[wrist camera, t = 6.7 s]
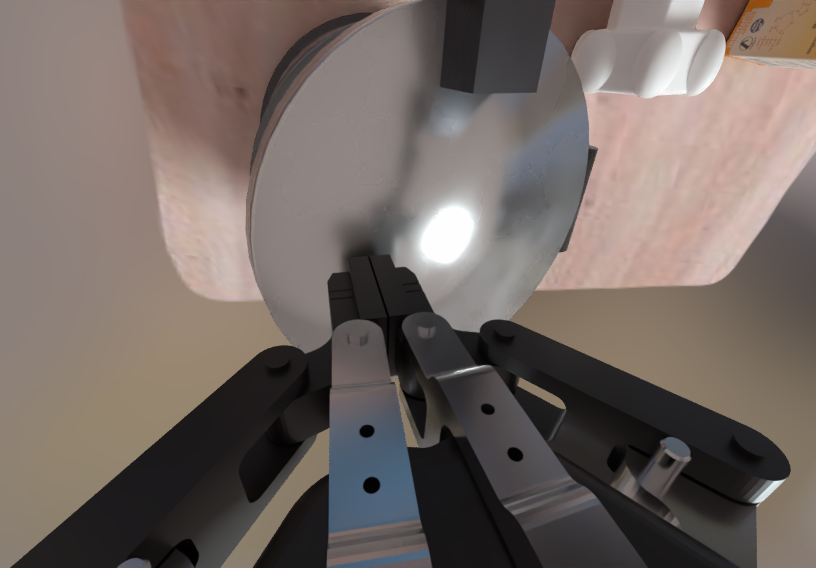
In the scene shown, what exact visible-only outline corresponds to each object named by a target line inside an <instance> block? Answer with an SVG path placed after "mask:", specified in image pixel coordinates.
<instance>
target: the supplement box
mask: <svg viewBox="0 0 816 568" xmlns="http://www.w3.org/2000/svg"><path fill="white" fill-rule="evenodd" d="M724 56H728V57H732V58H736V59H740V60H745V61H749V62H753V63H756V64H759V65H766V66H774V67H785V68H797V69H809V70H816V0H749V3H748V4H747V6H746V8H745V10H744V12H743V14H742V16H741V18H740V19H739V21H738V23H737V25H736V27H735V29H734V30H733V32H732V34H731V35H730V37H729V39H728V41H727V42H726V48H725V55H724Z"/></svg>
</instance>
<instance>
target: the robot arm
mask: <svg viewBox="0 0 816 568" xmlns="http://www.w3.org/2000/svg"><path fill="white" fill-rule="evenodd" d="M346 268H347V272H339V273H332V275H331V276H330V278H329V280H328V281H327V285H328V297H329V308H330V319H331V328H332V336H331V338H330V339H329V341H328V342H327V343H326V344H324V345H323V346H322V347H320V348H318V349H316V350H314V351H311V352H308V353H306V354H305V353H304V352H303V351H302V350H301V349H299V348H297V347H293V346H285V345H284V346H283V345H282V346H275V347H271V348H268V349H266V350H264V351H262V352H260V353H259V354H258V355H256V356H255V357H254V358H253V359H252V360H251V361H249V362H248V363H247V364H246V365H245V366H244V367H242V368H241V369H240V370H239V371H238V372H237V373H236V374H234V375H233V376H232V377H231V378H230V379H229V380H227V381H226V382H225V383H224V384H223V385H222V386H220V388H218V389H217V390H216V391H215V392H214V393H212V394H211V395H210V396H209V397H208V398H207V399H205V400H204V401H203V402H202V403H201V404H200V405H198V406H197V407H196V408H195V409H194V410H193V411H191V412H190V413H189V414H188V415H187V416H186V417H184V418H183V419H182V420H181V421H180V422H179V423H178V424H176V425H175V426H174V427H173V428H172V429H171V430H169V431H168V432H167V433H166V434H165V435H164V436H162V437H161V438H160V439H159V440H158V441H157V442H156V443H154V444H153V445H152V446H151V447H150V448H149V449H147V450H146V451H145V452H144V453H143V454H142V455H140V456H139V457H138V458H137V459H136V460H135V461H133V462H132V463H131V464H130V465H129V466H128V467H127V468H125V469H124V470H123V471H122V472H121V473H120V474H118V475H117V476H116V477H115V478H114V479H113V480H111V481H110V482H109V483H108V484H107V485H106V486H105V487H103V488H102V489H101V490H100V491H99V492H98V493H96V494H95V495H94V496H93V497H92V498H91V499H89V500H88V501H87V502H86V503H85V504H84V505H82V506H81V507H80V508H79V509H78V510H77V511H76V512H74V513H73V514H72V515H71V516H70V517H69V518H68V519H66V520H65V521H64V522H63V523H62V524H61V525H59V526H58V527H57V528H56V529H55V530H53V531H52V532H51V533H50V534H49V535H48V536H47V537H45V538H44V539H43V540H42V541H41V542H40V543H38V544H37V545H36V546H35V547H34V548H33V549H31V550H30V551H29V552H28V553H27V554H26V555H24V556H23V557H22V558H21V559H20V560H19V561H18V562H16V563H15V564H14V565H13V566H12V567H11V568H220V567H221V566H222V564H223V563H224V562H225V561H226V559H227V558H228V556H229V555H230V554H231V553H232V551H233V550H234V549H235V547H236V546H237V545H238V543H239V542H240V541H241V539H242V538H243V537H244V535H245V534H246V533H247V531H248V530H249V529H250V527H251V526H252V525H253V523H254V522H255V521H256V519H257V518H258V517H259V515H260V514H261V513H262V511H263V510H264V508H265V507H266V506H267V505H268V503H269V502H270V501H271V499H272V498H273V497H274V495H275V494H276V492H277V491H278V490H279V489H280V487H281V486H282V485H283V483H284V482H285V480H286V479H287V478H288V476H289V475H290V474H291V473H292V471H293V470H294V469H295V467H296V466H297V465H298V463H299V462H300V461H301V459H302V458H303V457H304V455H305V454H306V453H307V451H308V450H309V449H310V447H311V446H312V445H313V443H314V441H315V439H316V436H317V434H318V433H319V432H322V431H324V430H326V429H328V428H330V433H329V438H330V439H329V474H328V475H326V476H325V477H323V478H321V479H320V480H319V481H317V482H316V483H315V484H314V485H312V486H311V487H310V488H309V489H308V490H307V491H306V492H305V493H304V494H303V495H302V496H301V497H300V498H299V499H298V501H297V502H296V503H295V504H294V506H293V507H292V508H291V510H290V511H289V513H288V514H287V516H286V517H285V519H284V520H283V522H282V524H281V525H280V527H279V528H278V530H277V531H276V533H275V534H274V536H273V537H272V539H271V540H270V542H269V544H268V545H267V547H266V548H265V550H264V551H263V553H262V554H261V556H260V557H259V559H258V560H257V562H256V563H255V565H254V567H253V568H757V541H756V540H757V539H756V538H757V535H756V534H757V532H756V508H757V506H759V505H760V503H762V502H763V501H764V500H765V499H766V498H767V497H768V496H769V495H770V494H771V493H772V492H773V491H774V490H775V489H776V488H777V487H778V486H779V485H780V484H781V483H782V482H783V481H784V480H785V479H786V478H787V477H788V476H789V475H790V471H791V469H790V464H789V461H788V460H787V458H786V456H785V455H784V453H782V451H781V450H780V449H779V448H778V447H777V446H776V445H775V444H774V443H773V442H772V441H771V440H769V439H768V438H767V437H765V436H764V435H762V434H761V433H759V432H758V431H756V430H754V429H752V428H750V427H748V426H746V425H743V424H741V423H739V422H737V421H735V420H732V419H730V418H728V417H726V416H723V415H721V414H719V413H716V412H714V411H712V410H710V409H708V408H705V407H703V406H701V405H699V404H696V403H694V402H692V401H689V400H687V399H685V398H683V397H681V396H678V395H676V394H674V393H671V392H669V391H667V390H665V389H663V388H660V387H658V386H656V385H654V384H651V383H649V382H647V381H645V380H642V379H640V378H638V377H636V376H633V375H631V374H629V373H626V372H624V371H622V370H620V369H617V368H615V367H613V366H611V365H609V364H606V363H604V362H602V361H600V360H597V359H595V358H593V357H590V356H588V355H586V354H584V353H582V352H579V351H577V350H575V349H573V348H570V347H568V346H566V345H564V344H561V343H559V342H557V341H554V340H552V339H550V338H548V337H546V336H543V335H541V334H539V333H536V332H534V331H532V330H530V329H527V328H525V327H523V326H521V325H518V324H516V323H514V322H511V321H508V320H501V319H495V320H490V321H487V322H485V323H484V324H483V325H482V326H481V328H480V331H479V333H478V332H468V331H460V330H456V329H453V328H452V327H451V325H450V324H449V322H448V321H447V320H446V319H445V318H443V317H442V316H440V315H438V314H435V313H434V311H433V309H432V307H431V305H430V303H429V301H428V299H427V297H426V295H425V293H424V291H423V289H422V287H421V285H420V284H419V281H418V279H417V277H416V275H415V273H413V272H412V271H411V270H409V269H408V268H406V267H396V268H395V265H394V263H393V261H392V258H391V256H390V254H386V255H373V256H369V257H368V256H362V257H349V258H346ZM391 376H398V379H399V382H400V385H399V396H400V399H401V402H402V405H403V407H404V410H405V412H406V415H407V418H408V420H409V423H410V425H411V428H412V430H413V433H414V436H415V438H416V441H417V444H418V446H419V448H417V447H416V448H415V447H407V444H406V439H405V433H404V428H403V422H402V417H401V412H400V406H399V400H398V395H397V390H396V386H395V383H394V382H391ZM520 377H521V378H523V379H525V380H526V381H529V382H530V383H532V384H534V385H536V386H538V387H540V388H542V389H544V390H546V391H548V392H550V393H552V394H553V395H555V396H557V397H559V398H560V399H561V400H562V401H563V402H564V404H565V406H566V409H561V408H558V407H556V406H554V405H552V404H550V403H548V402H547V401H545V400H543V399H541V398H539V397H537V396H535V395H533V394H531V393H530V392H528V391H526V390H524V389H522V388H520V387H518V386H517V385H518V381H519V378H520Z"/></svg>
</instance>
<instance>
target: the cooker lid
mask: <svg viewBox="0 0 816 568" xmlns="http://www.w3.org/2000/svg"><path fill="white" fill-rule="evenodd" d="M554 5H555V0H412V1H406V2H402V3H399V4H396V5H394V6H391V7H388V8H386V9H383V10H380V11H377V12H375V13H373V14H371V15H370V16H368V17H366V18H364V19H363V20H361V21H359V22H357V23H356V24H354V25H352V26H351V27H349V28H347V29H346V30H345V31H343V32H342V33H341V34H340V35H338V36H337V37H336V38H335V39H334V40H332V41H331V42H330V43H329V44H327V45H326V46H325V47H324V48H323V49H321V50H320V51H319V52H318V53H317V54H316V56H315V57H314V58H313V59H312V60H311V61H310V62H309V63H308V64H307V66H306V67H305V68H304V69H303V70H302V71H301V72H300V73H299V74H298V76H297V77H296V78H295V80H294V81H293V83H292V84H291V86H290V87H289V89H288V90H287V92H286V93H285V95H284V96H283V98H282V99H281V101H280V102H279V104H278V105H277V107H276V109H275V111H274V113H273V115H272V117H271V119H270V121H269V123H268V126H267V128H266V130H265V132H264V134H263V136H262V138H261V142H260V145H259V148H258V151H257V154H256V157H255V160H254V163H253V166H252V170H251V176H250V182H249V188H248V193H247V199H246V237H247V245H248V253H249V259H250V263H251V266H252V270H253V273H254V276H255V280H256V283H257V285H258V287H259V290H260V292H261V294H262V296H263V299H264V301H265V303H266V305H267V307H268V309H269V311H270V313H271V315H272V318H273V320H274V322H275V323H276V325H277V326H278V327H279V329H280V330H281V332H282V333H283V334H284V336H285V337H286V339H287V340H288V341H289V342H290V343H291V344H292V345H293V346H294V347H297V348H299V349H301V350H302V351H303V352H304V353H305V354H306V353H308V352H311V351H314V350H316V349H318V348H320V347H322V346H323V345H324V344H326V343H327V342H328V341H329V339H330V338H331V336H332V328H331V319H330V308H329V297H328V285H327V281H328V280H329V278H330V276H331V275H332V273H339V272H347V268H346V258H349V257H362V256H368V257H369V256H373V255H386V254H390V256H391V258H392V261H393V263H394V265H395V268H396V267H406V268H408V269H409V270H411V271H412V272H413V273H415V275H416V277H417V279H418V281H419V284H420V285H421V287H422V289H423V291H424V293H425V295H426V297H427V299H428V301H429V303H430V305H431V307H432V309H433V311H434V313H435V314H438V315H440V316H442V317H443V318H445V319H446V320H447V321H448V322H449V324H450V325H451V327H452V328H453V329H456V330H460V331H468V332H478V333H479V331H480V328H481V326H482V325H483V324H484V323H485V322H487V321H490V320H495V319H501V320H509V319H510V318H511V317H512V316H513V315H514V314H515V313H516V312H517V310H518V309H519V308H520V307H521V306H522V305H523V304H524V302H525V301H526V300H527V299H528V298H529V297H530V295H531V294H532V293H533V292H534V290H535V289H536V288H537V286H538V285H539V283H540V282H541V281H542V279H543V278H544V276H545V275H546V273H547V272H548V270H549V268H550V267H551V265H552V263H553V262H554V260H555V258H556V256H557V254H558V253H559V252H564V251H566V250H567V248H568V245H569V241H570V238H571V235H572V232H573V228H574V225H575V222H576V219H577V215H578V212H579V209H580V206H581V202H582V199H583V196H584V193H585V190H586V186H587V183H588V180H589V177H590V173H591V170H592V167H593V164H594V160H595V157H596V154H597V151H598V148H596V147H594V146H590V145H589V122H588V114H587V106H586V100H585V96H584V92H583V88H582V84H581V80H580V78H579V75H578V73H577V70H576V68H575V66H574V63H573V61H572V59H571V57H570V56H569V54H568V52H567V51H566V49H565V47H564V46H563V44H562V42H561V41H560V40H559V39H558V38H557V37H556V36H555V34H554V33H553V32H552V31H551V30H550V25H551V20H552V15H553V10H554ZM397 378H398V376H391V379H397Z"/></svg>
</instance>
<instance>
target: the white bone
mask: <svg viewBox="0 0 816 568" xmlns="http://www.w3.org/2000/svg"><path fill="white" fill-rule="evenodd" d="M704 1H705V0H613V4H612V8H611V12H610V16H609V20H608V24H607V28H606V29H599V30H589V31H586V32H585V33H583V34H582V35H581V37H580V38H579V39H578V41H577V42H576V44H575V47H574V49H573V52H572V55H571V59H572V61H573V63H574V66H575V68H576V70H577V73H578V75H579V78H580V80H581V84H582V88H583V92H584V93H596V92H608V93H620V94H632V95H638V96H639V97H641V98H652V97H654V96H657V95H675V94H682V95H684V96H694V95H697V94H699V93H701V92H702V91H704V90H705V89H706V88H707V87H708V86H709V85H710V84H711V82H712V81H713V80H714V78H715V77H716V75H717V73H718V71H719V69H720V67H721V64H722V62H723V58H724V55H725V48H726V42H725V37H724V35H723V34H722V32H721V31H718V30H716V29H710V30H697V29H696V28H695V27H696V24H697V21H698V18H699V15H700V12H701V9H702V6H703V4H704Z"/></svg>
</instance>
